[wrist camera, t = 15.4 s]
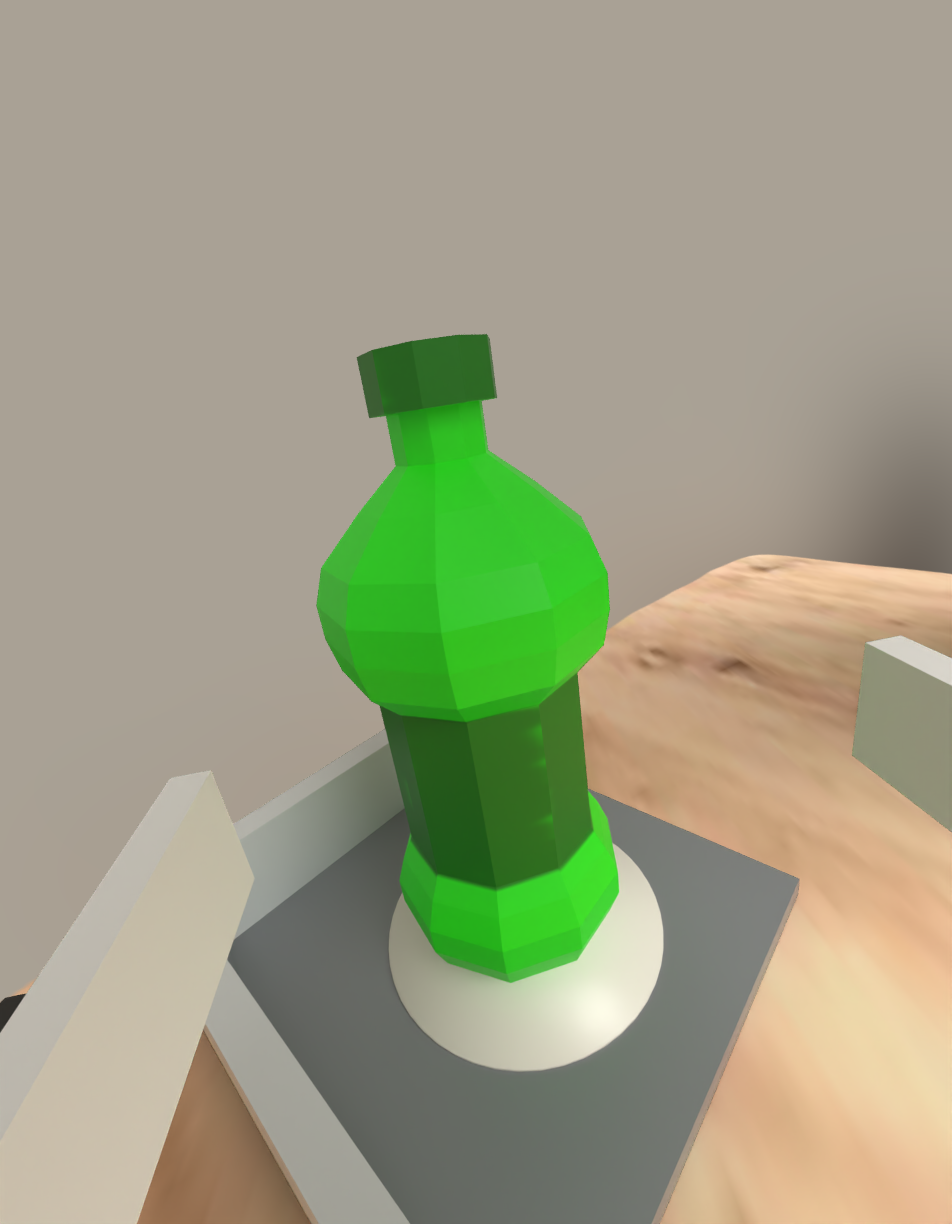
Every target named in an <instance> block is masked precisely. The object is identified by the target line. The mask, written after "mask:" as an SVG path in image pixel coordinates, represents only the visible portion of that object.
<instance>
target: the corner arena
mask: <svg viewBox="0 0 952 1224" xmlns="http://www.w3.org/2000/svg"><path fill="white" fill-rule="evenodd" d="M588 791H589V792H590V793H591V795H592V796H593V797H594V798H595V799H596V800H597V802H598V803H599V805H600V807H601V808H602V810H603V812H604V813H605V815H606V817H607V819H608V824H609V829H610V834H611V839H612V844H613V849H614V854H615V859H616V864H617V869H618V880H619V894H618V896H617V898H616V900H615V901H614V903H613V905H612V907H611V909H610V911H609V912H608V914H607V915H606V917H605V918H604V920H603V921H602V923H601V924H600V926H599V928H598V929H597V931H596V932H595V934H594V935H593V937H592V938H591V940H590V941H589V943H588V944H587V946H586V947H585V949H584V951H583V952H582V954H581V955H580V957H579V958H578V960H577V961H574V962H571V963H568V964H565V965H562V966H559V967H556V968H553V969H551V970H548V971H545V972H542V973H539V974H536V975H533V976H530V977H527V978H524V979H521V980H518V981H516V982H513V983H509V982H506V981H502V980H499V979H496V978H493V977H490V976H487V975H483V974H480V973H477V972H474V971H471V970H468V969H464V968H461V967H458V966H455V965H452V964H449V963H447V962H446V961H445V960H443V959H442V958H441V957H440V956H439V955H438V954H437V953H436V952H435V951H434V949H433V947H432V946H431V944H430V942H429V941H428V939H427V937H426V936H425V934H424V932H423V931H422V929H421V927H420V926H419V924H418V922H417V920H416V919H415V917H414V915H413V914H412V912H411V910H410V909H409V907H408V905H407V904H406V902H405V900H404V896H403V893H402V889H401V885H400V881H399V880H400V875H401V870H402V865H403V860H404V855H405V852H406V848H407V844H408V840H409V836H410V833H411V832H410V828H409V824H408V820H407V816H406V812H405V807H404V803H403V799H402V795H401V791H400V787H399V783H398V779H397V775H396V770H395V766H394V762H393V758H392V754H391V750H390V746H389V742H388V738H387V733H386V729H384V730H382V731H381V732H379V733H378V734H376V735H374V736H373V737H371V738H370V739H368V740H367V741H365V742H363V743H362V744H360V745H359V746H357V747H355V748H354V749H352V750H351V751H349V752H347V753H346V754H344V755H343V756H341V757H339V758H338V759H337V760H335V761H333V762H331V763H330V764H328V765H327V766H325V767H323V768H322V769H320V770H319V771H317V772H315V773H314V774H312V775H311V776H309V777H307V778H306V779H304V780H303V781H301V782H299V783H298V784H296V785H295V786H293V787H292V788H290V789H288V790H287V791H285V792H284V793H282V794H280V795H279V796H277V797H276V798H274V799H272V800H271V801H269V802H268V803H266V804H264V805H263V806H262V807H260V808H258V809H256V810H255V811H253V812H252V813H250V814H249V815H247V816H245V817H244V818H242V819H241V820H239V821H237V822H236V823H234V824H233V825H234V828H235V830H236V833H237V835H238V838H239V840H240V843H241V845H242V848H243V850H244V853H245V855H246V858H247V860H248V863H249V865H250V868H251V870H252V873H253V875H254V878H255V879H254V882H253V885H252V888H251V890H250V893H249V896H248V899H247V902H246V905H245V908H244V911H243V914H242V917H241V920H240V923H239V926H238V929H237V932H236V934H235V937H234V940H233V943H232V946H231V949H230V952H229V955H228V958H227V961H226V964H225V967H224V970H223V973H222V976H221V978H220V981H219V984H218V987H217V990H216V993H215V996H214V999H213V1002H212V1005H211V1008H210V1011H209V1014H208V1017H207V1020H206V1022H205V1025H204V1028H203V1031H204V1033H205V1035H206V1036H207V1038H208V1040H209V1042H210V1044H211V1045H212V1047H213V1049H214V1051H215V1053H216V1054H217V1056H218V1058H219V1060H220V1062H221V1063H222V1065H223V1067H224V1069H225V1071H226V1072H227V1074H228V1076H229V1078H230V1080H231V1081H232V1083H233V1085H234V1087H235V1089H236V1090H237V1092H238V1094H239V1096H240V1098H241V1099H242V1101H243V1103H244V1105H245V1107H246V1108H247V1110H248V1112H249V1114H250V1116H251V1117H252V1119H253V1121H254V1123H255V1125H256V1126H257V1128H258V1130H259V1132H260V1134H261V1135H262V1137H263V1139H264V1141H265V1143H266V1144H267V1146H268V1148H269V1150H270V1152H271V1153H272V1155H273V1157H274V1159H275V1161H276V1162H277V1164H278V1166H279V1168H280V1170H281V1171H282V1173H283V1175H284V1177H285V1179H286V1180H287V1182H288V1184H289V1186H290V1188H291V1189H292V1191H293V1193H294V1195H295V1197H296V1198H297V1200H298V1202H299V1204H300V1206H301V1207H302V1209H303V1211H304V1213H305V1215H306V1216H307V1218H308V1220H309V1222H310V1224H660V1222H661V1219H662V1217H663V1215H664V1212H665V1210H666V1208H667V1205H668V1203H669V1200H670V1198H671V1196H672V1193H673V1191H674V1189H675V1186H676V1184H677V1181H678V1179H679V1177H680V1174H681V1172H682V1169H683V1167H684V1165H685V1162H686V1160H687V1158H688V1155H689V1153H690V1150H691V1148H692V1146H693V1143H694V1141H695V1139H696V1136H697V1134H698V1131H699V1129H700V1127H701V1124H702V1122H703V1120H704V1117H705V1115H706V1112H707V1110H708V1108H709V1105H710V1103H711V1100H712V1098H713V1096H714V1093H715V1091H716V1089H717V1086H718V1084H719V1081H720V1079H721V1077H722V1074H723V1072H724V1070H725V1067H726V1065H727V1062H728V1060H729V1058H730V1055H731V1053H732V1051H733V1048H734V1046H735V1043H736V1041H737V1039H738V1036H739V1034H740V1031H741V1029H742V1027H743V1024H744V1022H745V1020H746V1017H747V1015H748V1012H749V1010H750V1008H751V1005H752V1003H753V1001H754V998H755V996H756V993H757V991H758V989H759V986H760V984H761V981H762V979H763V977H764V974H765V972H766V970H767V967H768V965H769V962H770V960H771V958H772V955H773V953H774V951H775V948H776V946H777V943H778V941H779V939H780V936H781V934H782V932H783V929H784V927H785V924H786V922H787V920H788V917H789V915H790V912H791V910H792V908H793V905H794V903H795V901H796V898H797V896H798V890H799V879H798V878H796V877H794V876H791V875H789V874H787V873H784V872H782V871H780V870H777V869H775V868H773V867H770V866H768V865H766V864H763V863H761V862H759V861H756V860H754V859H752V858H749V857H747V856H745V855H742V854H740V853H738V852H735V851H733V850H731V849H728V848H726V847H724V846H721V845H719V844H717V843H714V842H712V841H709V840H707V839H705V838H702V837H700V836H698V835H695V834H693V833H691V832H688V831H686V830H684V829H681V828H679V827H677V826H674V825H672V824H670V823H667V822H665V821H663V820H660V819H658V818H656V817H653V816H651V815H649V814H646V813H644V812H642V811H639V810H637V809H635V808H632V807H630V806H628V805H625V804H623V803H621V802H618V801H616V800H614V799H611V798H609V797H607V796H604V795H602V794H599V793H597V792H595V791H592V790H590V789H588Z"/></svg>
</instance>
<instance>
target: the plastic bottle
mask: <svg viewBox="0 0 952 1224" xmlns="http://www.w3.org/2000/svg"><path fill="white" fill-rule="evenodd" d="M357 361H358V365H359V371H360V375H361V380H362V385H363V390H364V395H365V399H366V404H367V409H368V414H369V418H373V417H381V416H386V418H387V423H388V429H389V434H390V439H391V444H392V449H393V454H394V459H395V465H396V467H395V468H394V469H393V470H392V472H391V473H390V474H389V475H388V477H387V478H386V479H385V480H384V482H383V483H382V484H381V486H380V487H379V488H378V489H377V491H376V492H375V493H374V494H373V496H372V497H371V498H370V500H369V501H368V502H367V503H366V505H365V506H364V507H363V508H362V510H361V511H360V512H359V513H358V515H357V516H356V518H355V519H354V521H353V522H352V524H351V525H350V527H349V528H348V530H347V531H346V533H345V534H344V536H343V537H342V538H341V540H340V541H339V543H338V544H337V546H336V547H335V549H334V550H333V552H332V553H331V554H330V556H329V557H328V559H327V560H326V562H325V563H324V565H323V566H322V568H321V574H320V582H319V590H318V598H317V609H318V613H319V617H320V621H321V624H322V628H323V632H324V635H325V639H326V641H327V643H328V645H329V646H330V649H331V650H332V652H333V654H334V656H335V658H336V660H337V662H338V663H339V665H340V667H341V669H342V671H343V672H344V673H345V674H346V675H347V676H348V677H349V678H350V679H351V680H352V681H353V682H354V683H355V684H356V686H357V687H358V688H359V689H360V690H361V691H362V692H363V693H364V694H365V695H366V696H367V697H368V698H369V699H370V700H371V701H372V702H374V703H376V704H378V705H380V708H381V712H382V717H383V721H384V725H385V729H386V733H387V738H388V742H389V746H390V750H391V754H392V758H393V762H394V766H395V770H396V775H397V779H398V783H399V787H400V791H401V795H402V799H403V803H404V807H405V812H406V816H407V820H408V824H409V828H410V832H411V833H410V836H409V840H408V844H407V848H406V852H405V855H404V860H403V865H402V870H401V875H400V880H399V881H400V885H401V889H402V893H403V896H404V900H405V902H406V904H407V905H408V907H409V909H410V910H411V912H412V914H413V915H414V917H415V919H416V920H417V922H418V924H419V926H420V927H421V929H422V931H423V932H424V934H425V936H426V937H427V939H428V941H429V942H430V944H431V946H432V947H433V949H434V951H435V952H436V953H437V954H438V955H439V956H440V957H441V958H442V959H443V960H445V961H446V962H447V963H449V964H452V965H455V966H458V967H461V968H464V969H468V970H471V971H474V972H477V973H480V974H483V975H487V976H490V977H493V978H496V979H499V980H502V981H506V982H509V983H513V982H516V981H518V980H521V979H524V978H527V977H530V976H533V975H536V974H539V973H542V972H545V971H548V970H551V969H553V968H556V967H559V966H562V965H565V964H568V963H571V962H574V961H577V960H578V958H579V957H580V955H581V954H582V952H583V951H584V949H585V947H586V946H587V944H588V943H589V941H590V940H591V938H592V937H593V935H594V934H595V932H596V931H597V929H598V928H599V926H600V924H601V923H602V921H603V920H604V918H605V917H606V915H607V914H608V912H609V911H610V909H611V907H612V905H613V903H614V901H615V900H616V898H617V896H618V894H619V880H618V869H617V864H616V859H615V854H614V849H613V844H612V839H611V834H610V829H609V824H608V819H607V817H606V815H605V813H604V812H603V810H602V808H601V807H600V805H599V803H598V802H597V800H596V799H595V798H594V797H593V796H592V795H591V793H590V792H589V791H588V786H587V775H586V764H585V752H584V741H583V730H582V719H581V708H580V697H579V686H578V675H577V672H578V671H579V670H580V669H581V668H582V667H583V666H584V665H585V664H586V663H587V662H588V661H589V660H590V659H591V658H592V657H593V656H594V655H595V654H596V652H597V651H598V650H599V649H600V648H601V647H602V646H603V645H604V641H605V635H606V629H607V623H608V617H609V611H610V607H609V589H608V573H607V571H606V569H605V567H604V564H603V562H602V560H601V558H600V556H599V553H598V551H597V549H596V547H595V545H594V543H593V540H592V538H591V536H590V534H589V532H588V530H587V528H586V526H585V524H584V522H583V520H582V518H581V516H580V515H578V514H577V513H576V512H575V511H573V510H572V509H571V508H569V507H568V506H567V505H565V504H564V503H563V502H562V501H560V500H559V499H558V498H556V497H555V496H554V495H553V494H551V493H550V492H549V491H547V490H546V489H545V488H543V487H542V486H541V485H539V484H538V483H537V482H536V481H534V480H533V479H531V478H530V477H528V476H527V475H525V474H523V473H522V472H521V471H519V470H517V469H516V468H514V467H513V466H511V465H510V464H508V463H507V462H505V461H503V460H502V459H500V458H499V457H498V456H496V455H495V454H493V453H492V452H490V451H489V450H488V445H487V437H486V430H485V423H484V415H483V408H482V401H483V400H489V399H494V398H497V394H496V386H495V378H494V371H493V362H492V354H491V346H490V339H489V337H488V335H487V334H485V335H484V334H483V335H454V336H446V337H439V338H432V339H424V340H417V341H410V342H405V343H401V344H397V345H393V346H388V347H384V348H379V349H375V350H371V351H369V352H367V353H365V354H363V355H361V356H359V357H357Z"/></svg>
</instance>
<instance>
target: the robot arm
mask: <svg viewBox="0 0 952 1224" xmlns="http://www.w3.org/2000/svg"><path fill="white" fill-rule="evenodd" d="M852 756H854V757H855V758H856V759H858V760H859V761H860V762H861V763H863V764H864V765H865V766H867V767H868V768H869V769H870V770H872V771H873V772H874V773H876V774H877V775H878V776H880V777H881V778H882V779H883V780H885V781H886V782H887V783H889V784H890V785H891V786H892V787H894V788H895V789H896V790H898V791H899V792H900V793H901V794H903V795H904V796H905V797H907V798H908V799H909V800H911V801H912V802H913V803H914V804H916V805H917V806H918V807H920V808H921V809H922V810H923V811H925V812H926V813H927V814H929V815H930V816H931V817H932V818H934V819H935V820H936V821H938V822H939V823H940V824H942V825H943V826H944V827H945V828H947V829H948V830H949V831H951V832H952V658H950V657H948V656H946V655H943V654H941V653H939V652H937V651H935V650H932V649H930V648H928V647H926V646H923V645H921V644H919V643H917V642H915V641H912V640H910V639H908V638H906V637H903V636H896V637H891V638H886V639H880V640H875V641H870V642H865V650H864V659H863V667H862V676H861V684H860V693H859V701H858V710H857V718H856V726H855V735H854V743H853V752H852ZM254 879H255V878H254V875H253V873H252V870H251V868H250V865H249V863H248V860H247V858H246V855H245V853H244V850H243V848H242V845H241V843H240V840H239V838H238V835H237V833H236V830H235V828H234V825H233V823H232V820H231V818H230V816H229V813H228V811H227V808H226V806H225V803H224V801H223V798H222V796H221V793H220V791H219V788H218V786H217V784H216V781H215V779H214V776H213V773H212V771H211V770H209V771H203V772H198V773H193V774H188V775H183V776H178V777H173V778H170V780H169V781H168V782H167V784H166V785H165V787H164V788H163V790H162V791H161V793H160V795H159V796H158V797H157V799H156V800H155V802H154V803H153V805H152V806H151V808H150V809H149V811H148V812H147V814H146V815H145V817H144V818H143V820H142V821H141V823H140V824H139V826H138V827H137V829H136V831H135V832H134V833H133V835H132V836H131V838H130V839H129V841H128V843H127V844H126V845H125V847H124V848H123V850H122V851H121V853H120V854H119V856H118V858H117V859H116V860H115V862H114V863H113V865H112V866H111V868H110V869H109V871H108V872H107V874H106V875H105V877H104V878H103V880H102V881H101V883H100V884H99V886H98V888H97V889H96V890H95V892H94V893H93V895H92V896H91V898H90V899H89V901H88V902H87V904H86V905H85V907H84V908H83V910H82V911H81V913H80V914H79V916H78V917H77V919H76V920H75V922H74V923H73V925H72V926H71V928H70V929H69V931H68V932H67V934H66V935H65V937H64V938H63V940H62V941H61V943H60V944H59V946H58V947H57V949H56V950H55V952H54V953H53V955H52V956H51V958H50V959H49V961H48V962H47V964H46V965H45V967H44V968H43V970H42V971H41V973H40V974H39V976H38V977H37V979H36V980H35V982H34V983H33V985H32V986H31V988H30V989H29V991H28V992H27V993H26V994H22V995H17V996H12V997H7V998H5V999H4V1000H3V1001H2V1002H1V1003H0V1224H137V1222H138V1219H139V1216H140V1213H141V1210H142V1207H143V1204H144V1201H145V1198H146V1196H147V1193H148V1190H149V1187H150V1184H151V1181H152V1178H153V1175H154V1172H155V1169H156V1166H157V1163H158V1160H159V1157H160V1154H161V1152H162V1149H163V1146H164V1143H165V1140H166V1137H167V1134H168V1131H169V1128H170V1125H171V1122H172V1119H173V1116H174V1113H175V1110H176V1108H177V1105H178V1102H179V1099H180V1096H181V1093H182V1090H183V1087H184V1084H185V1081H186V1078H187V1075H188V1072H189V1069H190V1066H191V1064H192V1061H193V1058H194V1055H195V1052H196V1049H197V1046H198V1043H199V1040H200V1037H201V1034H202V1031H203V1028H204V1025H205V1022H206V1020H207V1017H208V1014H209V1011H210V1008H211V1005H212V1002H213V999H214V996H215V993H216V990H217V987H218V984H219V981H220V978H221V976H222V973H223V970H224V967H225V964H226V961H227V958H228V955H229V952H230V949H231V946H232V943H233V940H234V937H235V934H236V932H237V929H238V926H239V923H240V920H241V917H242V914H243V911H244V908H245V905H246V902H247V899H248V896H249V893H250V890H251V888H252V885H253V882H254Z"/></svg>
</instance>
